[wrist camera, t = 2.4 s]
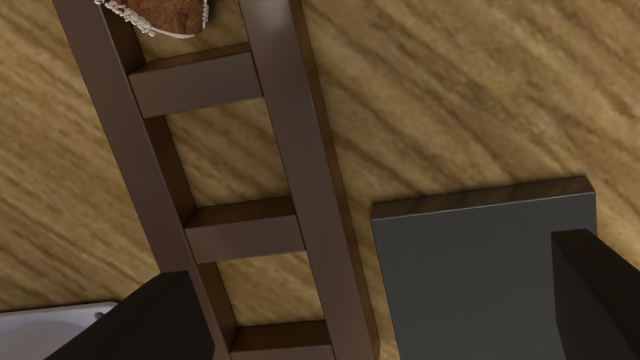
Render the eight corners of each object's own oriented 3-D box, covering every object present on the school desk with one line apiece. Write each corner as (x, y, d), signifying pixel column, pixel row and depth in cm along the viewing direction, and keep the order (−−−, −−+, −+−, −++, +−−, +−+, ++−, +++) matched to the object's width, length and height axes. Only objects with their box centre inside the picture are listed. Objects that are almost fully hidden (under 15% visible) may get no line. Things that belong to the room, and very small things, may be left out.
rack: (215, 357, 27) (204, 384, 26) (37, -110, 19) (7, -109, 18) (380, 345, 26) (378, 372, 24) (260, -174, 18) (247, -178, 16)
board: (420, 431, 27) (420, 453, 26) (371, 203, 23) (369, 219, 22) (597, 423, 26) (605, 447, 25) (586, 175, 21) (596, 190, 20)
